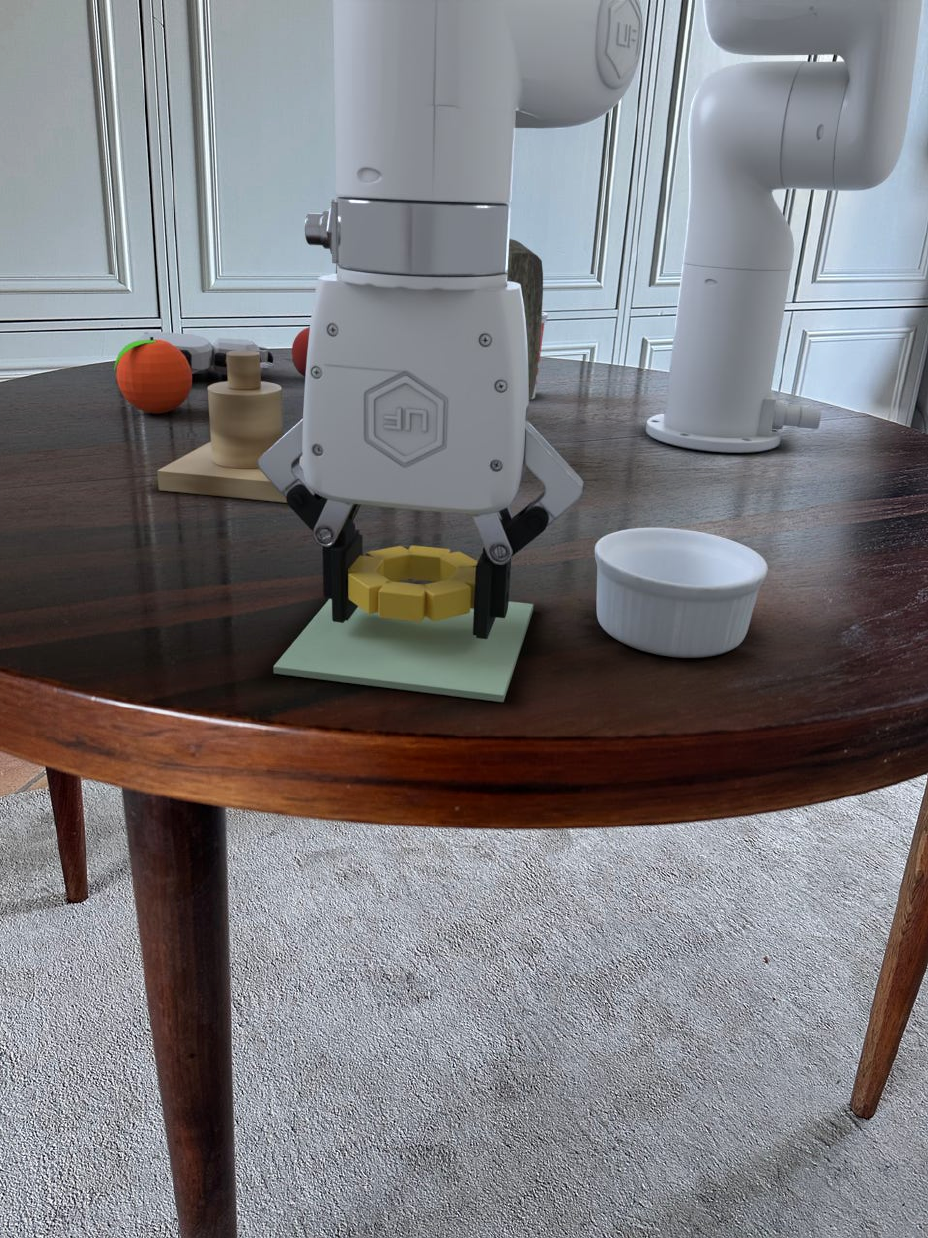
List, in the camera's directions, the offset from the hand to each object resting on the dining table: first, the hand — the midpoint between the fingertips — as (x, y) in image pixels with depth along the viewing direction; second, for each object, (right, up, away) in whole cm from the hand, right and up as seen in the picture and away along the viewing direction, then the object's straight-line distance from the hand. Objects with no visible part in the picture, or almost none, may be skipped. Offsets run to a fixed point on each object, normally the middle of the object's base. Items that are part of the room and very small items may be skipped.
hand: (415, 617), depth 50 cm
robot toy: (-27, +27, +62) cm, 73 cm away
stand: (-14, +11, +26) cm, 31 cm away
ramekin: (+14, -1, +3) cm, 14 cm away
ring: (0, +1, -1) cm, 1 cm away
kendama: (-8, +27, +64) cm, 70 cm away
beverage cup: (+8, +25, +60) cm, 65 cm away
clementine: (-27, +20, +45) cm, 56 cm away
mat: (0, -1, 0) cm, 1 cm away
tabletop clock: (+1, +13, +33) cm, 35 cm away
